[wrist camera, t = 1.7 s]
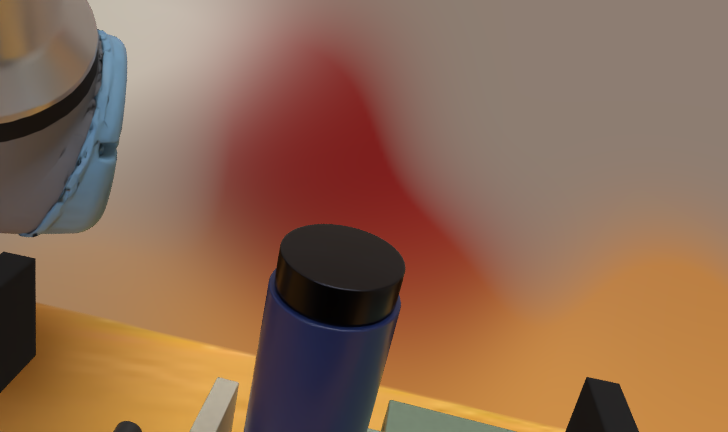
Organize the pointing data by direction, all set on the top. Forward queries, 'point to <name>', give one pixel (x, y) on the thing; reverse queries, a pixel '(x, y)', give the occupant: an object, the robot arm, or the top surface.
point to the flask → (325, 331)
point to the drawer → (209, 410)
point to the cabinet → (429, 421)
